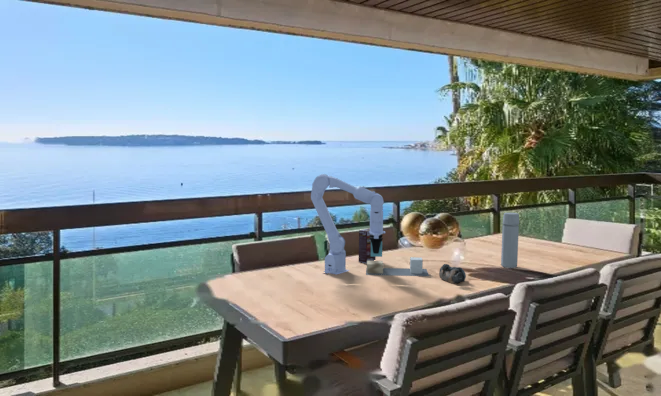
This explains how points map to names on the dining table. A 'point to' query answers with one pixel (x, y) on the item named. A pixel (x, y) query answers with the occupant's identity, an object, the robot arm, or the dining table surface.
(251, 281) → the dining table surface
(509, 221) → the water bottle
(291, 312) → the dining table surface
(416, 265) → the light grey block
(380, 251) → the teal block
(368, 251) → the supplement box
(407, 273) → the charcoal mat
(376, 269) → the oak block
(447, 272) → the black rounded lump
